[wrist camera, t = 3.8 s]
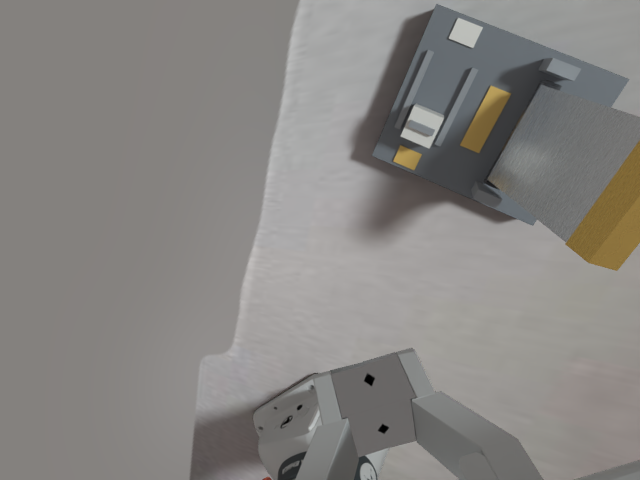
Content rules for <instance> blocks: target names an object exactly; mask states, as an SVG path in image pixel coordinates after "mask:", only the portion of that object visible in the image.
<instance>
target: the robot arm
mask: <svg viewBox="0 0 640 480" xmlns="http://www.w3.org/2000/svg"><path fill="white" fill-rule="evenodd" d="M330 372H331V373H330ZM311 385H313V386H314V387H313V386H311ZM253 422H254V426H255V429H256V432H257V434H258V436H259V441H258V453H259V457H260V459H261V462H262V463H263V465H264V467H265V469H266V470H267V472H268V473H269V475H270V476H271V477H272V479H273V480H378V478H379V474H380V471H381V469H382V466H383V463H384V460H385V457H386V455H387V453H388V451H389V449H390V447H394V446H398V445H402V444H406V443H410V442H414V441H417V443H419V444H420V445H421V446H422V447H423V448H424V449H425V450H427V451H428V452H429V453H430V454H431V455H432V456H433V457H435V458H436V459H437V460H438V461H439V462H440V463H442V464H443V465H444V466H445V467H446V468H447V469H448V470H450V471H451V472H452V473H453V474H454V475H455V476H457V477H458V478H459V480H543V478H542V477H541V475H540V474H539V472H538V470H537V469H536V467H535V466H534V464H533V462H532V461H531V459H530V458H529V456H528V454H527V453H526V451H525V450H524V448H523V447H522V445H521V443H520V442H519V440H518V439H517V438H515V437H514V436H512V435H511V434H509V433H507V432H506V431H504V430H502V429H501V428H499V427H498V426H496V425H494V424H493V423H491V422H490V421H488V420H486V419H485V418H483V417H482V416H480V415H478V414H477V413H475V412H474V411H472V410H470V409H469V408H467V407H466V406H464V405H462V404H461V403H459V402H458V401H456V400H454V399H453V398H451V397H450V396H448V395H446V394H445V393H443V392H442V391H440V392H436V391H435V389H434V387H433V385H432V383H431V381H430V379H429V377H428V375H427V373H426V371H425V369H424V367H423V365H422V363H421V361H420V359H419V357H418V355H417V353H416V351H415V350H414V349H413V348H409V349H406V350H402V351H398V352H396V353H395V352H394V353H391V354H387V355H384V356H380V357H377V358H374V359H370V360H367V361H363V362H362V363H358V364H354V365H350V366H346V367H342V368H338V369H334V370H330V371H327V372H323V373H319V374H314V375H312V376H310V377H308V378H307V379H305V380H304V381H302V382H300V383H299V384H297V385H295V386H294V387H292V388H291V389H289V390H287V391H286V392H284V393H283V394H281V395H279V396H278V397H276V398H274V399H273V400H271V401H270V402H268V403H266V404H265V405H263V406H262V407H260V408H258V409H257V410H256V411H255V413H254V415H253ZM263 480H271V478H270V477H266V478H264V479H263ZM574 480H640V460H638V461H634V462H631V463H628V464H624V465H621V466H618V467H614V468H611V469H608V470H604V471H601V472H598V473H594V474H591V475H588V476H584V477H581V478H578V479H574Z"/></svg>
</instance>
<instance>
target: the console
mask: <svg viewBox="0 0 640 480" xmlns="http://www.w3.org/2000/svg"><path fill="white" fill-rule="evenodd" d="M541 79H546V80H548V81H551V82H554V83H556V84H559V85H561V86H562V87H561V89H560V91H562V92H565V93H568V94H571V95H574V96H577V97H580V98H583V99H586V100H589V101H592V102H595V103H599V104H602V105H605V106H608V107H611V106H612V105H613V103H614V102H615V100H616V99H617V97H618V96H619V94H620V93H621V91H622V90H623V88H624V87H625V85H626V84H627V82H628V81H629V79H627V78H625V77H622V76H620V75H617V74H615V73H612V72H609V71H607V70H604V69H602V68H599V67H597V66H594V65H592V64H589V63H586V62H584V61H581V60H579V59H576V58H574V57H571V56H569V55H566V54H563V53H561V52H558V51H556V50H553V49H551V48H548V47H546V46H543V45H540V44H538V43H535V42H533V41H530V40H528V39H525V38H523V37H520V36H517V35H515V34H512V33H510V32H507V31H505V30H502V29H500V28H497V27H494V26H492V25H489V24H487V23H484V22H482V21H479V20H476V19H474V18H471V17H469V16H466V15H464V14H461V13H459V12H456V11H453V10H451V9H448V8H446V7H443V6H441V5H438V4H436V6H435V8H434V11H433V13H432V16H431V18H430V20H429V23H428V25H427V27H426V30H425V32H424V34H423V37H422V39H421V41H420V44H419V46H418V48H417V51H416V53H415V55H414V58H413V60H412V63H411V65H410V67H409V70H408V72H407V74H406V77H405V79H404V81H403V84H402V86H401V88H400V91H399V93H398V95H397V98H396V100H395V102H394V105H393V107H392V110H391V112H390V114H389V117H388V119H387V121H386V124H385V126H384V128H383V131H382V133H381V135H380V138H379V140H378V142H377V145H376V147H375V149H374V152H373V154H372V156H374V157H376V158H378V159H380V160H383V161H385V162H387V163H390V164H392V165H394V166H397V167H399V168H401V169H403V170H406V171H408V172H410V173H413V174H415V175H417V176H420V177H422V178H424V179H426V180H429V181H431V182H433V183H436V184H438V185H440V186H443V187H445V188H447V189H449V190H452V191H454V192H456V193H459V194H461V195H463V196H466V197H468V198H470V199H472V200H475V201H477V202H479V203H482V204H484V205H486V206H489V207H491V208H493V209H495V210H498V211H500V212H502V213H505V214H507V215H509V216H512V217H514V218H516V219H518V220H521V221H523V222H525V223H528V224H530V225H532V226H533V225H534V223H535V222H536V220H537V219H536V218H535V217H534V216H532V215H531V214H530V213H529V212H527V211H526V210H525V209H524V208H522V207H521V206H520V205H519V204H517V203H516V202H515V201H514V200H512V199H511V198H510V197H509V196H507V195H506V194H505V193H504V192H502V191H501V190H499V189H495V188H493V187H491V186H489V185H487V184H486V183H484V182H483V181H484V179H485V177H486V176H487V174H488V172H489V170H490V169H491V167H492V165H493V163H494V162H495V160H496V158H497V156H498V155H499V153H500V151H501V149H502V147H503V146H504V144H505V142H506V140H507V139H508V137H509V135H510V133H511V132H512V130H513V128H514V126H515V125H516V123H517V121H518V119H519V118H520V116H521V114H522V112H523V110H524V109H525V107H526V105H527V103H528V102H529V100H530V98H531V96H532V95H533V93H534V91H535V89H536V88H537V86H538V84H539V82H540V81H541ZM415 104H418V105H421V106H423V107H426V108H428V109H430V110H433V111H435V112H438V113H440V114H442V115H444V120H443V122H442V124H441V126H440V128H439V130H438V132H437V134H436V136H435V138H434V140H433V142H432V145H431V147H430V149H429V148H426V147H424V146H422V145H419V144H417V143H415V142H412V141H410V140H408V139H405V138H403V137H401V134H402V132H403V129H404V127H405V125H406V123H407V120H408V118H409V116H410V114H411V111H412V109H413V107H414V105H415Z"/></svg>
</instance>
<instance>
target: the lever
mask: <svg viewBox="0 0 640 480" xmlns="http://www.w3.org/2000/svg"><path fill="white" fill-rule="evenodd" d="M561 87H562V86H561V85H559V84H556V83H554V82H551V81H548V80H546V79H541V81H540V82H539V84H538V86H537V88H536V89H535V91H534V93H533V95H532V96H531V98H530V100H529V102H528V103H527V105H526V107H525V109H524V110H523V112H522V114H521V116H520V118H519V119H518V121H517V123H516V125H515V126H514V128H513V130H512V132H511V133H510V135H509V137H508V139H507V140H506V142H505V144H504V146H503V147H502V149H501V151H500V153H499V155H498V156H497V158H496V160H495V162H494V163H493V165H492V167H491V169H490V170H489V172H488V174H487V176H486V177H485V179H484V181H483V182H484V183H486V184H487V185H489V186H491V187H493V188H495V189H499V190H501V191H502V192H504V193H505V194H506V195H507V196H509V197H510V198H511V199H512V200H514V201H515V202H516V203H517V204H519V205H520V206H521V207H522V208H524V209H525V210H526V211H527V212H529V213H530V214H531V215H532V216H534V217H535V218H536V219H537V220H539V221H540V222H541V223H542V224H544V225H545V226H546V227H547V228H549V229H550V230H551V231H552V232H554V233H555V234H556V235H557V236H559V237H560V238H561V239H563V240H564V241H565V242H566V245H567V246H568V247H569V248H571V249H572V250H573V251H574V252H576V253H577V254H578V255H579V256H581V257H582V258H583V259H584V260H586V261H587V262H588V263H591V264H595V265H598V266H602V267H605V268H609V269H612V270H616V271H617V270H618V269H619V268H620V267H621V265H622V264H623V263H624V262H625V260H626V259H627V258H628V257H629V255H630V254H631V253H632V252H633V250H634V249H635V248H636V247H637V245H638V244H639V243H640V117H638V116H635V115H632V114H629V113H626V112H623V111H620V110H617V109H614V108H611V107H608V106H605V105H602V104H599V103H595V102H592V101H589V100H586V99H583V98H580V97H577V96H574V95H571V94H568V93H565V92H562V91H560V89H561Z"/></svg>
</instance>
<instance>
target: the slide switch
mask: <svg viewBox="0 0 640 480" xmlns="http://www.w3.org/2000/svg"><path fill="white" fill-rule="evenodd" d="M443 120H444V115H442V114H440V113H438V112H435V111H433V110H430V109H428V108H426V107H423V106H421V105H418V104H415V105H414V107H413V109H412V111H411V114H410V116H409V118H408V120H407V123H406V125H405V127H404V129H403V132H402V134H401V137H403V138H405V139H408V140H410V141H412V142H415V143H417V144H419V145H422V146H424V147H426V148H429V149H430V147H431V145H432V142H433V140H434V138H435V136H436V134H437V132H438V130H439V128H440V126H441V124H442V122H443Z"/></svg>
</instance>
